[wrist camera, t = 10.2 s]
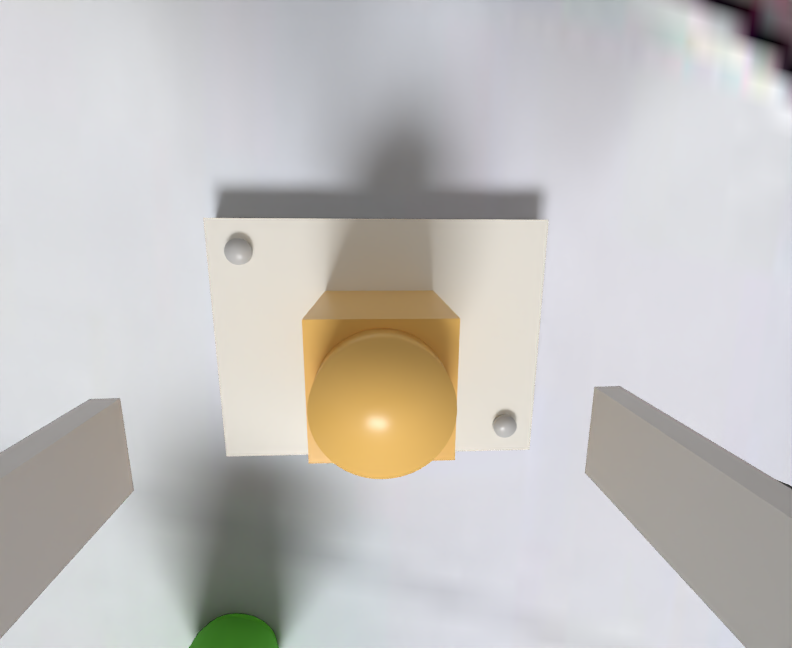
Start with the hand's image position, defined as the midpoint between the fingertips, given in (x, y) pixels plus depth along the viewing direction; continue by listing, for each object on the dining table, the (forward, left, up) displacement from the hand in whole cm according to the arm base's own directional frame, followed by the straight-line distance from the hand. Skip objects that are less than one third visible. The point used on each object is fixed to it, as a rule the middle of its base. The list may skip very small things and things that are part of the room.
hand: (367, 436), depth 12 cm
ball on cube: (0, 0, -9) cm, 9 cm away
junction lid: (0, 0, -11) cm, 11 cm away
